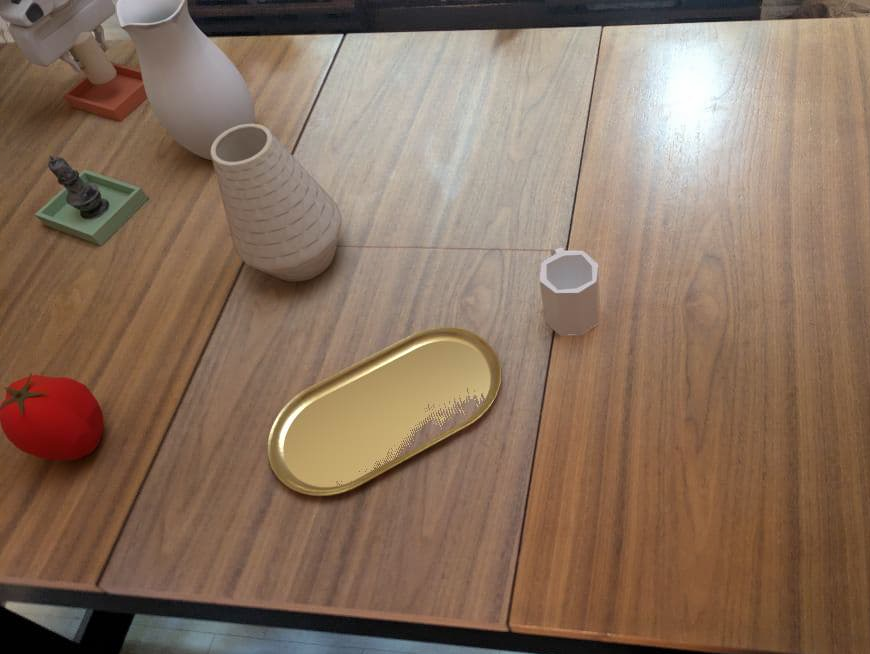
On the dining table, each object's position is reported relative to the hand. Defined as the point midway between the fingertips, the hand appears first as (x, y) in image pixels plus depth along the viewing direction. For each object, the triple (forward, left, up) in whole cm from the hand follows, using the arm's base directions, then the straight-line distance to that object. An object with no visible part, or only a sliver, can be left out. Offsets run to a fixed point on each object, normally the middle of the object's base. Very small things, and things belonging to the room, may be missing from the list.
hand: (92, 60), depth 141 cm
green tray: (+22, -28, -8) cm, 36 cm away
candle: (0, 0, -4) cm, 4 cm away
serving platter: (+96, -43, -8) cm, 106 cm away
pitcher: (+30, -2, -8) cm, 31 cm away
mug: (+112, -16, -8) cm, 113 cm away
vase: (+66, -23, -8) cm, 70 cm away
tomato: (+56, -65, -8) cm, 86 cm away
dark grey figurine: (+22, -28, -8) cm, 36 cm away
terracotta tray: (0, 0, -8) cm, 8 cm away
